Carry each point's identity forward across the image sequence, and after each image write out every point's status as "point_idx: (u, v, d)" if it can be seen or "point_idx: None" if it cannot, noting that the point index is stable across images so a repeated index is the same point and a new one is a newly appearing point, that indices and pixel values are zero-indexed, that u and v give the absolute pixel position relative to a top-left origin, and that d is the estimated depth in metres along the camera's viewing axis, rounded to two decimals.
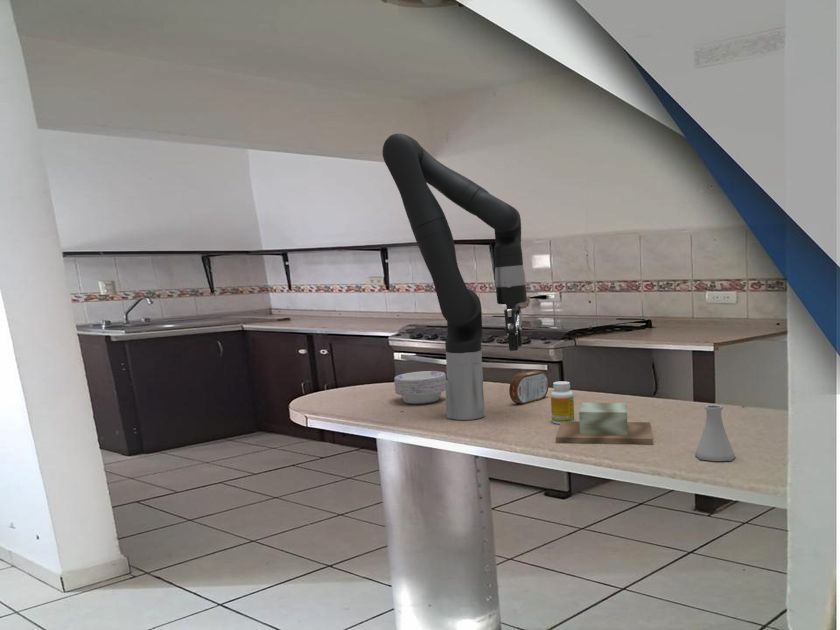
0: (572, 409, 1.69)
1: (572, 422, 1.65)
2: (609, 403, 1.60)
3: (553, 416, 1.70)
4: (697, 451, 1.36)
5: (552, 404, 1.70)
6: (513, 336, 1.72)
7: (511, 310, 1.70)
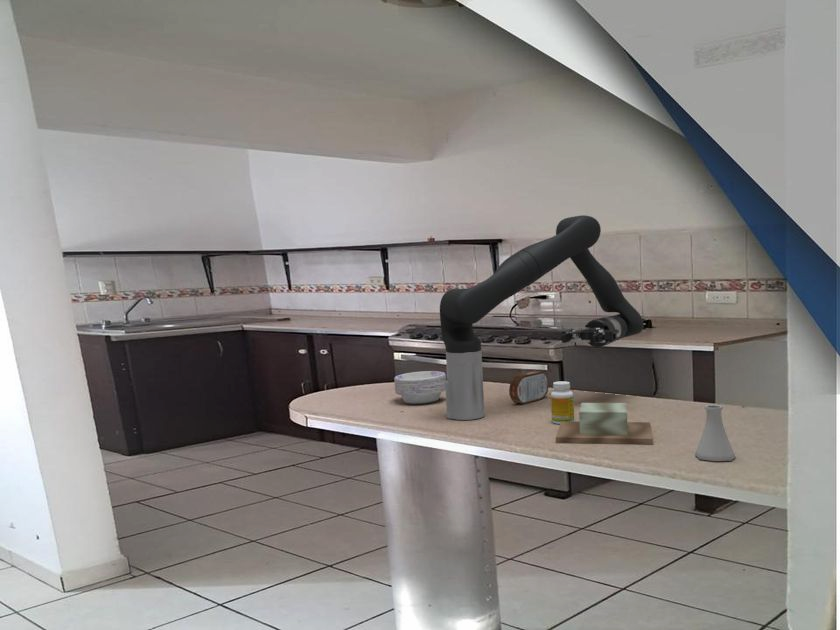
0: (572, 409, 1.69)
1: (572, 422, 1.65)
2: (609, 403, 1.60)
3: (553, 416, 1.70)
4: (697, 451, 1.36)
5: (552, 404, 1.70)
6: (604, 338, 1.78)
7: (618, 336, 1.82)
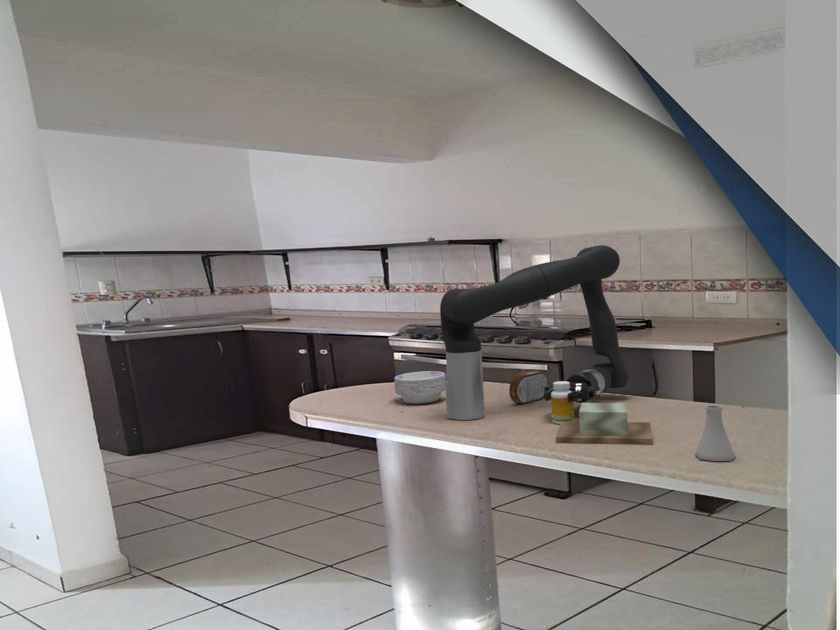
0: (572, 409, 1.69)
1: (572, 422, 1.65)
2: (609, 403, 1.60)
3: (553, 416, 1.70)
4: (697, 451, 1.36)
5: (552, 404, 1.70)
6: (579, 397, 1.69)
7: (599, 394, 1.72)
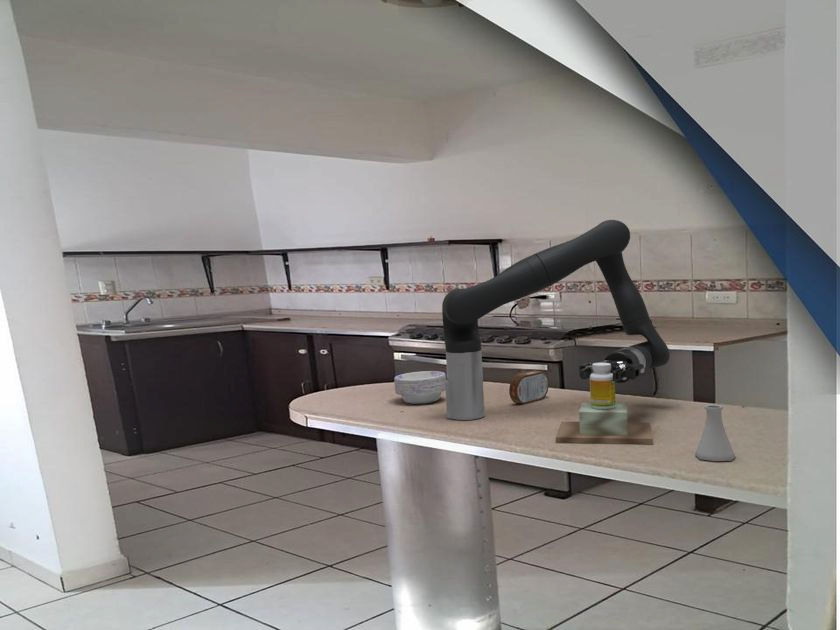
0: (613, 393, 1.54)
1: (572, 422, 1.65)
2: None
3: (592, 400, 1.55)
4: (697, 451, 1.36)
5: (591, 387, 1.55)
6: (624, 375, 1.54)
7: (643, 372, 1.58)
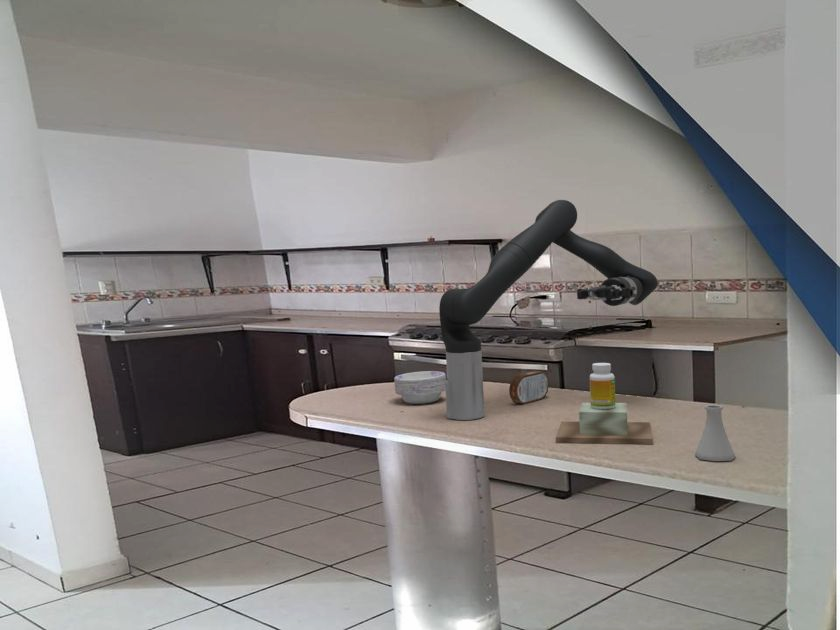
0: (613, 393, 1.54)
1: (572, 422, 1.65)
2: None
3: (592, 400, 1.55)
4: (697, 451, 1.36)
5: (591, 387, 1.55)
6: (621, 294, 1.77)
7: (635, 293, 1.81)
